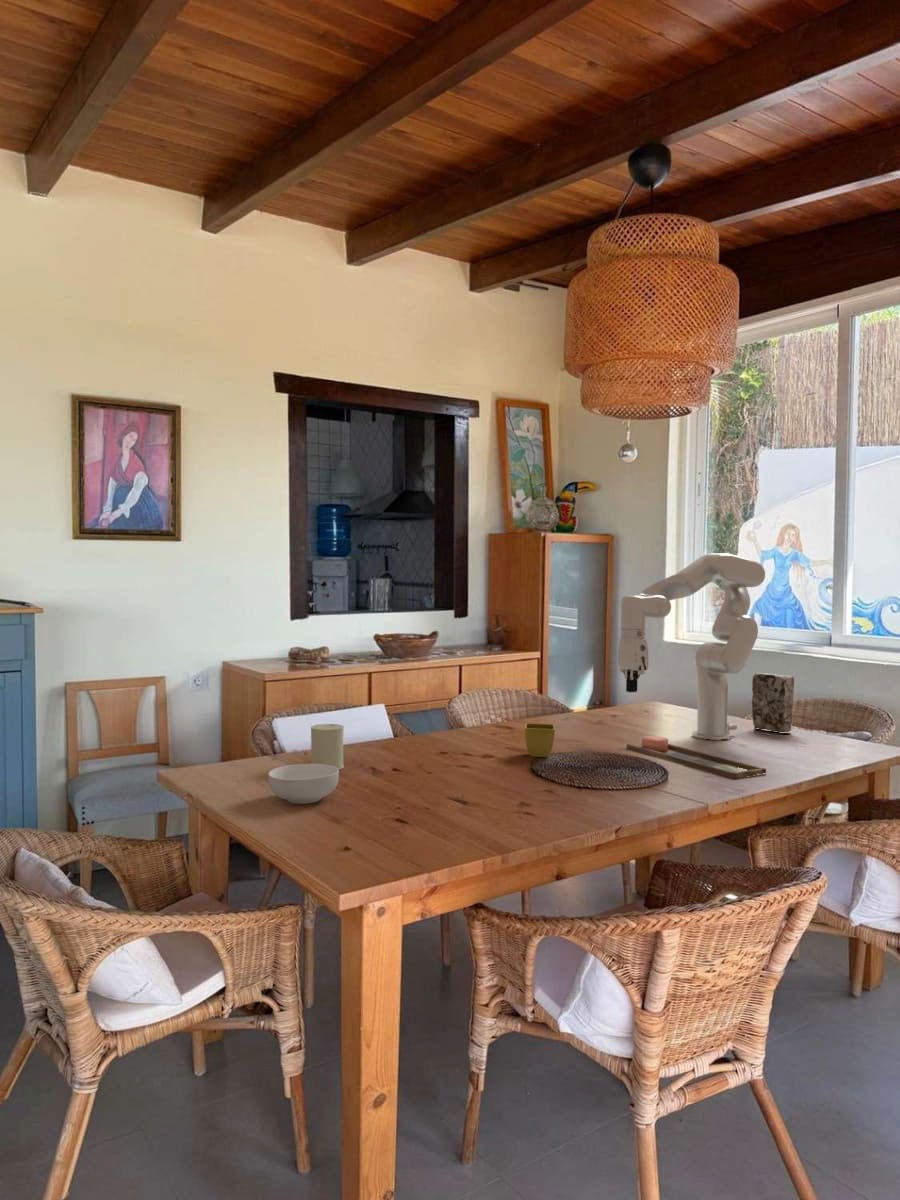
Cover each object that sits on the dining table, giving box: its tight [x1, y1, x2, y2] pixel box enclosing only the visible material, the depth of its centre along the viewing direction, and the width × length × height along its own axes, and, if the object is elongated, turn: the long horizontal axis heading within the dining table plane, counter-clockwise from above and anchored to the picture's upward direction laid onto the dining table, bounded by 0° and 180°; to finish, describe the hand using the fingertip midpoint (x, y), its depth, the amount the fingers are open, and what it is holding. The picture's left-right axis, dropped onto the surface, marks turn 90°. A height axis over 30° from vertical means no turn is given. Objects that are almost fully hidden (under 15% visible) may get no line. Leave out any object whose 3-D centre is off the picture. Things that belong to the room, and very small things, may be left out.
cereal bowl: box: [267, 763, 340, 805], centre depth 214 cm, size 17×17×7 cm
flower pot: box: [524, 722, 556, 758], centre depth 265 cm, size 9×9×9 cm
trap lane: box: [626, 743, 767, 780], centre depth 259 cm, size 12×44×2 cm, turn 29°
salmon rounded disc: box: [641, 735, 669, 753], centre depth 273 cm, size 8×8×4 cm
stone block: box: [751, 672, 795, 732], centre depth 306 cm, size 13×7×20 cm, turn 42°
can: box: [310, 723, 345, 771], centre depth 247 cm, size 9×9×12 cm
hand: (631, 691), depth 282 cm, fingers closed
